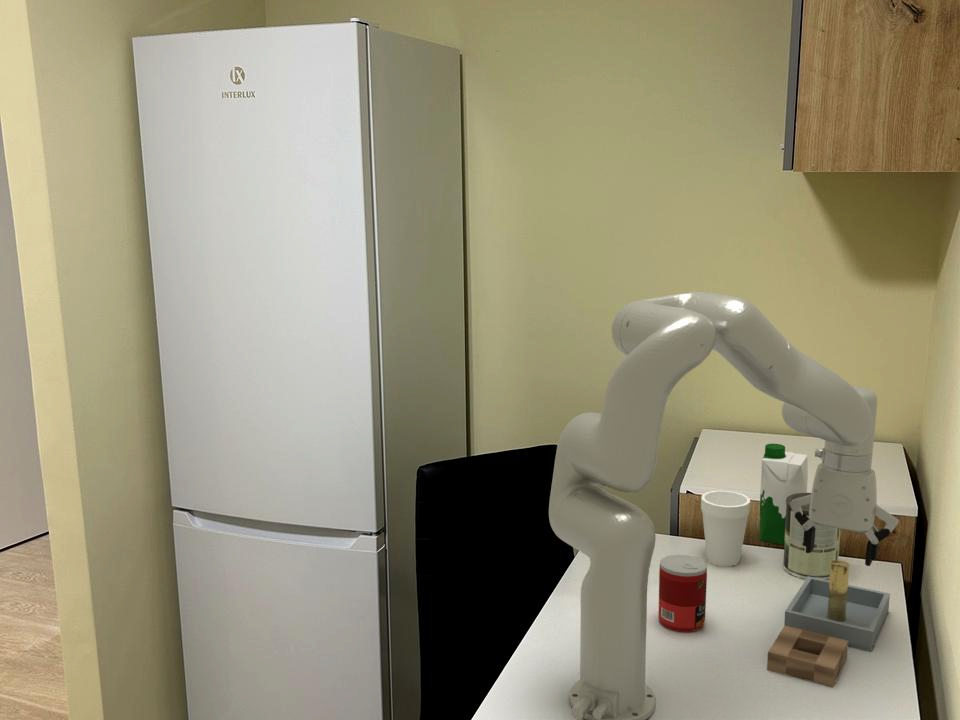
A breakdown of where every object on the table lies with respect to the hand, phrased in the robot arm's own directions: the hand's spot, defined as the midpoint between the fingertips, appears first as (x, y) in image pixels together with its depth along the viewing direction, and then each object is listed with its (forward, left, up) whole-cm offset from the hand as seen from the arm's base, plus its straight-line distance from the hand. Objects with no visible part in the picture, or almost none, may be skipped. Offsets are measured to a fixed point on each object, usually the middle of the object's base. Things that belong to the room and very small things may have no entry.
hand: (838, 556), depth 159 cm
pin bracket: (-16, +1, -12) cm, 20 cm away
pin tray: (+1, 0, -12) cm, 12 cm away
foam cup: (+16, +25, -12) cm, 32 cm away
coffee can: (+20, +9, -12) cm, 25 cm away
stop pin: (+1, 0, -11) cm, 11 cm away
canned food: (-13, +23, -12) cm, 29 cm away
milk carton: (+33, +18, -12) cm, 39 cm away
